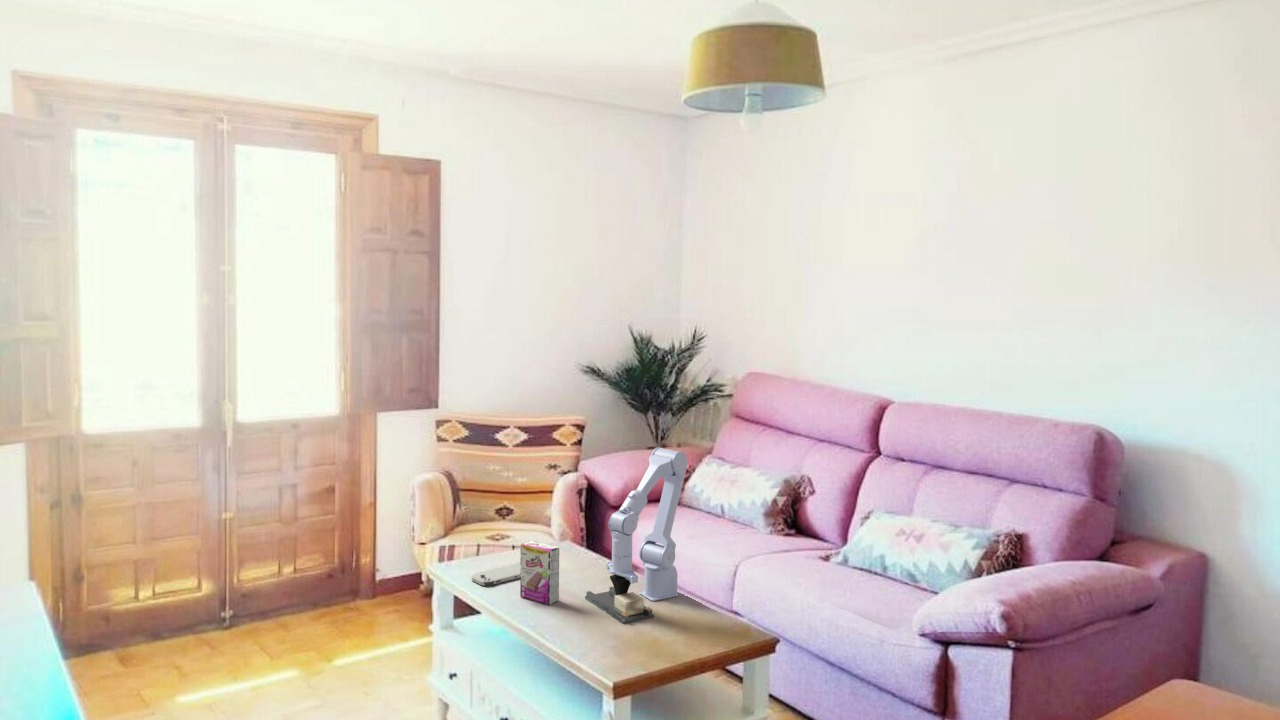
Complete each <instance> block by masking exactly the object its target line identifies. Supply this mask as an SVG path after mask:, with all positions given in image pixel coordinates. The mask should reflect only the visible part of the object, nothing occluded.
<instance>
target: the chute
mask: <svg viewBox="0 0 1280 720" xmlns="http://www.w3.org/2000/svg"><path fill="white" fill-rule="evenodd" d="M608 590H609V591H604V592H598V593H594V592H592V591H591V590H589V591H586V595H585V596H584V599H585V600H587V602H590V603H591V604H592V605H593V606H595V607H596V608H599V609H600V610H602V611H603V612H604V611H605V612H604V613H606V614H607V615H609V616H611V617H612V618H614V620H616V621H618V622H620V623H621V624H622V625H623V624H628V623H633V622H637V621H643V620H647V618H648V619H651V618H654V617H655V614H654V613H653V609H652V608H651V607H647V606H646V605H644V611H643V613H638V614H634V615H628V614H627V613H625V612H624V613H623V612H622V611H620V610H619V609H617V608H616V607H614V601H615V595H616V593H615V589H614V586H609V589H608Z"/></svg>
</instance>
